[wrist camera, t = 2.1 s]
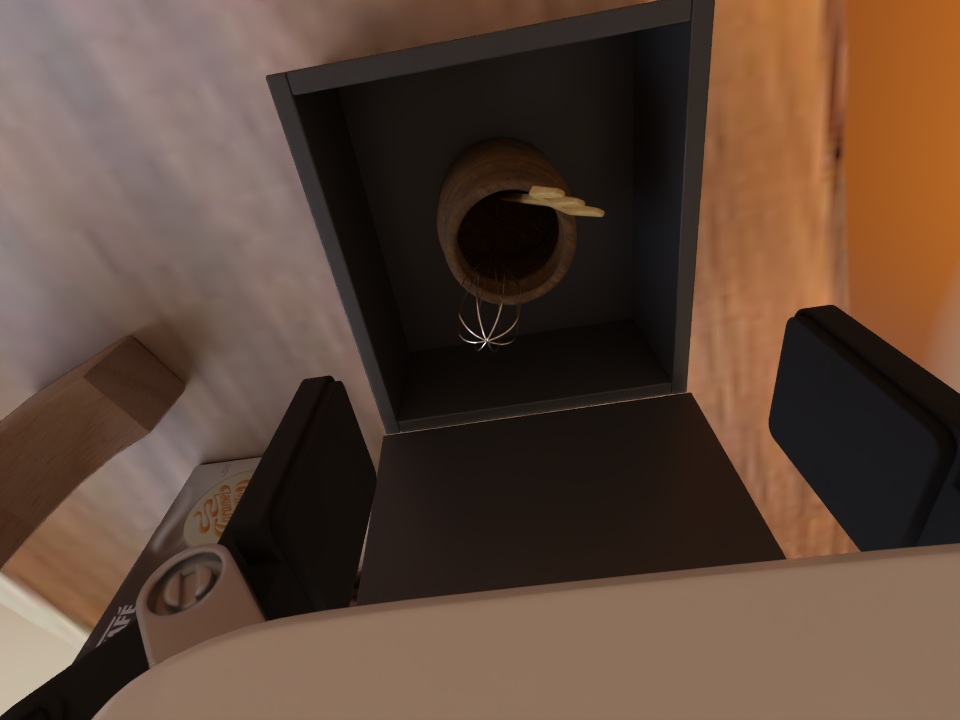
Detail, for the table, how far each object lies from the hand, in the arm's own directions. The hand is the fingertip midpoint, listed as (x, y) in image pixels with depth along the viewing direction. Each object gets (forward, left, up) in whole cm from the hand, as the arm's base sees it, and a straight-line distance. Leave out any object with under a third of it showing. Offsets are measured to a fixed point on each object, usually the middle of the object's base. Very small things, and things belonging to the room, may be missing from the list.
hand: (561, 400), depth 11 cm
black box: (0, -1, -17) cm, 17 cm away
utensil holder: (0, 0, -17) cm, 17 cm away
